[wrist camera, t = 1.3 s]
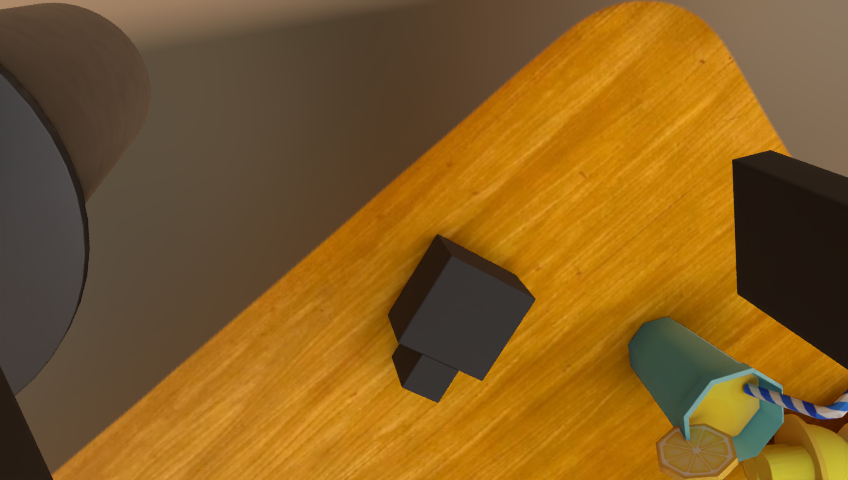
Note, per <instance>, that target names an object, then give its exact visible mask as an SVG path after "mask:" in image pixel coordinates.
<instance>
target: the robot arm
mask: <svg viewBox="0 0 848 480" xmlns="http://www.w3.org/2000/svg"><path fill="white" fill-rule="evenodd" d="M732 166H733V192H734V218H735V245H736V271H737V294H738V295H740V296H741V297H743V298H744V299H746V300H747V301H749V302H750V303H752V304H753V305H754V306H756V307H757V308H759V309H760V310H762V311H763V312H765V313H766V314H768V315H769V316H770V317H772V318H773V319H775V320H776V321H778V322H779V323H781V324H782V325H784V326H785V327H786V328H788V329H789V330H791V331H792V332H794V333H795V334H797V335H798V336H800V337H801V338H803V339H804V340H805V341H807V342H808V343H810V344H811V345H813V346H814V347H816V348H817V349H819V350H820V351H821V352H823V353H824V354H826V355H827V356H829V357H830V358H832V359H833V360H835V361H836V362H837V363H839V364H840V365H842V366H843V367H845V368H846V369H848V177H845V176H842V175H839V174H836V173H833V172H830V171H828V170H825V169H822V168H819V167H817V166H814V165H811V164H808V163H805V162H802V161H800V160H797V159H794V158H791V157H788V156H786V155H783V154H780V153H777V152H774V151H771V150H769V151H765V152H761V153H757V154H753V155H749V156H745V157H741V158H737V159H734V160H732ZM0 480H53V478H52V476H51V474H50V472H49V470H48V468H47V465H46V463H45V461H44V459H43V457H42V455H41V453H40V450H39V448H38V446H37V444H36V442H35V440H34V437H33V435H32V433H31V431H30V429H29V427H28V424H27V422H26V420H25V418H24V416H23V414H22V411H21V410H20V407H19V405H18V403H17V401H16V398H15V396H14V394H13V392H12V390H11V388H10V385H9V383H8V381H7V379H6V377H5V375H4V373H3V370H2V368H1V366H0Z"/></svg>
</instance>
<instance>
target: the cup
mask: <svg viewBox="0 0 848 480" xmlns="http://www.w3.org/2000/svg"><path fill="white" fill-rule="evenodd" d="M628 346H629V354H630V363H631V367H632V368H633V370H634V371H635V373H636V374H637V375H638V377H639V378H640V380H641V381H642V383H643V384H644V385H645V387H646V388H647V390H648V391H649V392H650V394H651V395H652V397H653V398H654V399H655V401H656V402H657V404H658V405H659V406H660V408H661V409H662V411H663V412H664V414H665V415H666V416H667V418H668V419H669V421H670V422H671V423H672V425H673V426H674V427H673V428H672V429H671V430H670V431H669V432H668V433H667V434H666V435H664V436H663V437H662V438H661V439H660V440H659V441H658V442H656V447H657V453H658V460H659V466H660V471H661V472H663V473H665V474H667V475H668V476H670V477H672V478H674V479H675V480H723V479H724V478H725V477H726V476H727V475H728V474H729V473H730V472H731V471H732V470H733V469H734V468H735V467H736V466H737V465H738V462H739V461H742V460H745V459H748V458H752V457H755V456H757V455H758V454H759V453H760V452H761V450H762V449H763V448H764V447H765V445H766V444H767V443H768V442H769V440H770V439H771V438H772V437H773V435H774V434H775V433H776V432H777V430H778V429H779V428H780V427H781V425H782V424H783V422H784V417H783V407H785V408H787V409H790V410H793V411H796V412H799V413H802V414H805V415H808V416H811V417H814V418H816V419H835V418H840V417H843V416H844V415H845V414H846V413H847V412H848V390H847V391H846V392H845V393H844V394H843V395H842V396H840V397H839V398H838V399H837V400H836V401H835V402H834V403H833V404H832V405H829V406H818V405H815V404H811V403H808V402H805V401H802V400H799V399H796V398H793V397H790V396H787V395H784V394H783V386H782V385H780V384H779V383H777V382H775V381H774V380H772V379H770V378H769V377H767V376H765V375H764V374H762V373H760V372H759V371H757V370H755V369H754V368H752V367H750V366H748V365H747V364H745V363H739V362H738V361H736V360H735V359H733V358H732V357H730V356H729V355H727V354H726V353H724V352H723V351H721V350H719V349H718V348H716V347H715V346H713V345H712V344H710V343H709V342H707V341H706V340H704V339H703V338H701V337H700V336H698V335H697V334H695V333H693V332H692V331H690V330H689V329H687V328H686V327H684V326H682V325H681V324H679V323H677V322H676V321H674V320H672V319H671V318H669V317H664V318H661V319H658V320H654V321H651V322H647V323H644V324H643V325H642V326H641V328H640V329H639V331H638V332H637V333H636V335H635V336H634V337H633V339H632V340H631V341H630V343H629V344H628Z"/></svg>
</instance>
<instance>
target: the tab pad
mask: <svg viewBox="0 0 848 480" xmlns="http://www.w3.org/2000/svg"><path fill="white" fill-rule="evenodd" d="M534 301H535V298H534V296H533V295H532V294H531V293H530V292H529V290H528V289H527V288H526V287H525V286H524V284H523V283H522V282H521V281H520V280H519V278H518V277H517V276H516V275H515V274H513V273H511V272H509V271H507V270H505V269H503V268H501V267H499V266H498V265H496V264H494V263H492V262H490V261H488V260H486V259H484V258H482V257H480V256H478V255H477V254H475V253H473V252H471V251H469V250H467V249H465V248H463V247H461V246H459V245H457V244H455V243H454V242H452V241H450V240H448V239H446V238H444V237H442V236H440V235H437V236H436V237H435V239H434V240H433V242H432V244H431V245H430V247H429V249H428V250H427V252H426V254H425V255H424V257H423V258H422V260H421V262H420V263H419V265H418V267H417V268H416V270H415V272H414V273H413V275H412V277H411V278H410V280H409V281H408V283H407V285H406V286H405V288H404V290H403V291H402V293H401V295H400V296H399V298H398V299H397V301H396V303H395V304H394V306H393V308H392V309H391V311H390V313H389V314H388V317H389V319H390V322H391V325H392V327H393V330H394V333H395V336H396V338H397V341H398V343H400V345H399V346H398V348H397V349H396V351H395V353H394V354H393V356H392V359H393V362H394V365H395V368H396V371H397V374H398V377H399V380H400V383H401V386H402V388H405V389H407V390H409V391H412V392H414V393H416V394H419V395H421V396H423V397H426V398H428V399H430V400H432V401H435V402H437V403H438V402H439V401H440V399H441V398H442V396H443V394H444V393H445V391H446V390H447V388H448V387H449V385H450V384H451V382H452V381H453V379H454V377H455V376H456V374H457V373H458V370H459V371H461V372H464V373H466V374H468V375H470V376H472V377H475V378H477V379H479V380H481V381H482V380H483V379H484V378H485V376H486V375H487V373H488V371H489V370H490V368H491V367H492V365H493V364H494V362H495V361H496V359H497V358H498V356H499V355H500V353H501V352H502V350H503V349H504V347H505V345H506V344H507V342H508V341H509V339H510V338H511V336H512V335H513V333H514V332H515V330H516V329H517V327H518V326H519V324H520V323H521V321H522V319H523V318H524V316H525V315H526V313H527V312H528V310H529V309H530V307H531V306H532V304H533V303H534Z"/></svg>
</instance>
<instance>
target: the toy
mask: <svg viewBox="0 0 848 480" xmlns="http://www.w3.org/2000/svg"><path fill="white" fill-rule="evenodd" d="M783 417H784V422H783V424H782V425H781V427H780V428H779V429H778V430H777V432H776V433H775V434H774V444H773V445H765V447H764V448H763V449H762V450H761V452H760V453H759V454H758V455H757V456H755V457H752V458H748V459H745V460H742V464H743V468H744V471H745V474H746V477H747V479H748V480H848V423H846V424H845V425H844V426H843V427H842V428H841V429H840V430H839V432H838V433H837V434H836V433H835V432H833V431H831V430H829V429H826V428H823V427H820V426H817V425H811V424H806V423H805V422H804V421H803V420H802V419H801V418H800V417H799V416H797V415H795V414H786V415H783Z"/></svg>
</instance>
